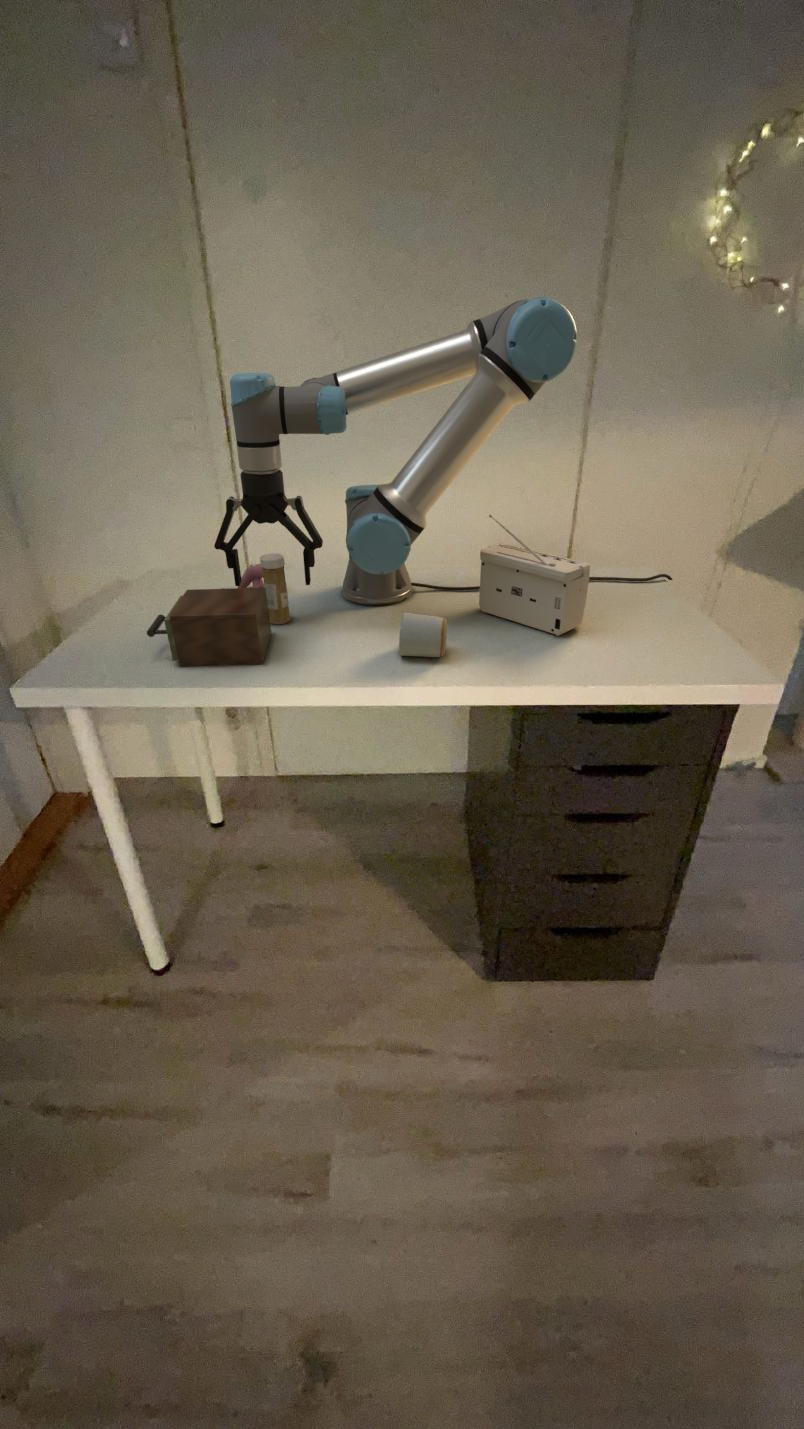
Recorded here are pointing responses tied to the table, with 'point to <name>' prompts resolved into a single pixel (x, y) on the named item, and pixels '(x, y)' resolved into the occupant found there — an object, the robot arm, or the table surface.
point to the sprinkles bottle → (275, 587)
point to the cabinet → (221, 627)
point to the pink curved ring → (252, 577)
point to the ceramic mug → (422, 635)
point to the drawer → (168, 631)
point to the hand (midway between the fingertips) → (273, 583)
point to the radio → (533, 587)
